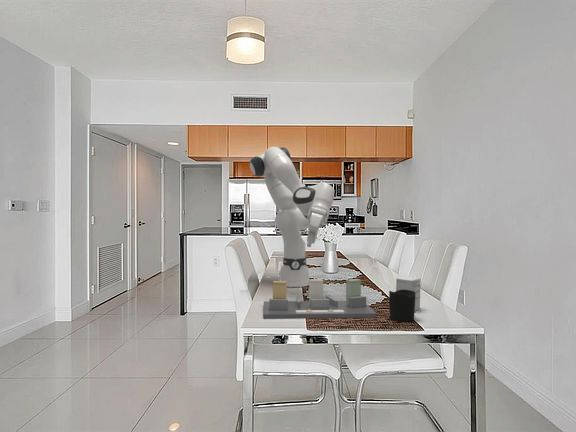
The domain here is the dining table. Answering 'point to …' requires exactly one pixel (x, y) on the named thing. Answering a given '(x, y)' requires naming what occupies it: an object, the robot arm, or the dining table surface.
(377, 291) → the dining table surface
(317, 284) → the key cream
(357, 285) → the key sage
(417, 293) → the supplement box
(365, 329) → the dining table surface
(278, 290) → the key ochre
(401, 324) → the dining table surface
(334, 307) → the keypad console
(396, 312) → the pen holder
